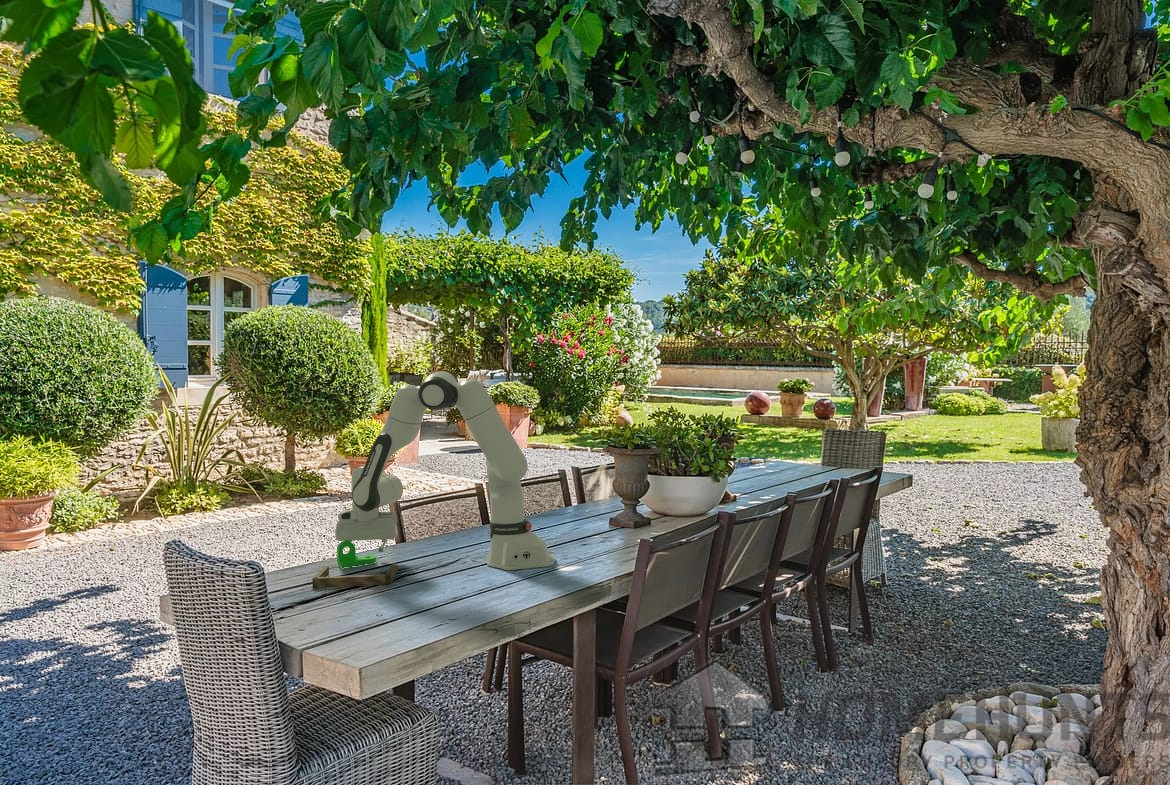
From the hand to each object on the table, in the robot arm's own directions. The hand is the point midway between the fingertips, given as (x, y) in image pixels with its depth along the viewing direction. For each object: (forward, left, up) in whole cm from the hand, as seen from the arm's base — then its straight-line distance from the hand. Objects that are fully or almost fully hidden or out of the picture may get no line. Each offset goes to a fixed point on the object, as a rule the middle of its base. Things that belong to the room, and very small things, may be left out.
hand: (367, 552), depth 257 cm
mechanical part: (+3, +3, -3) cm, 5 cm away
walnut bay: (-1, +21, -3) cm, 22 cm away
